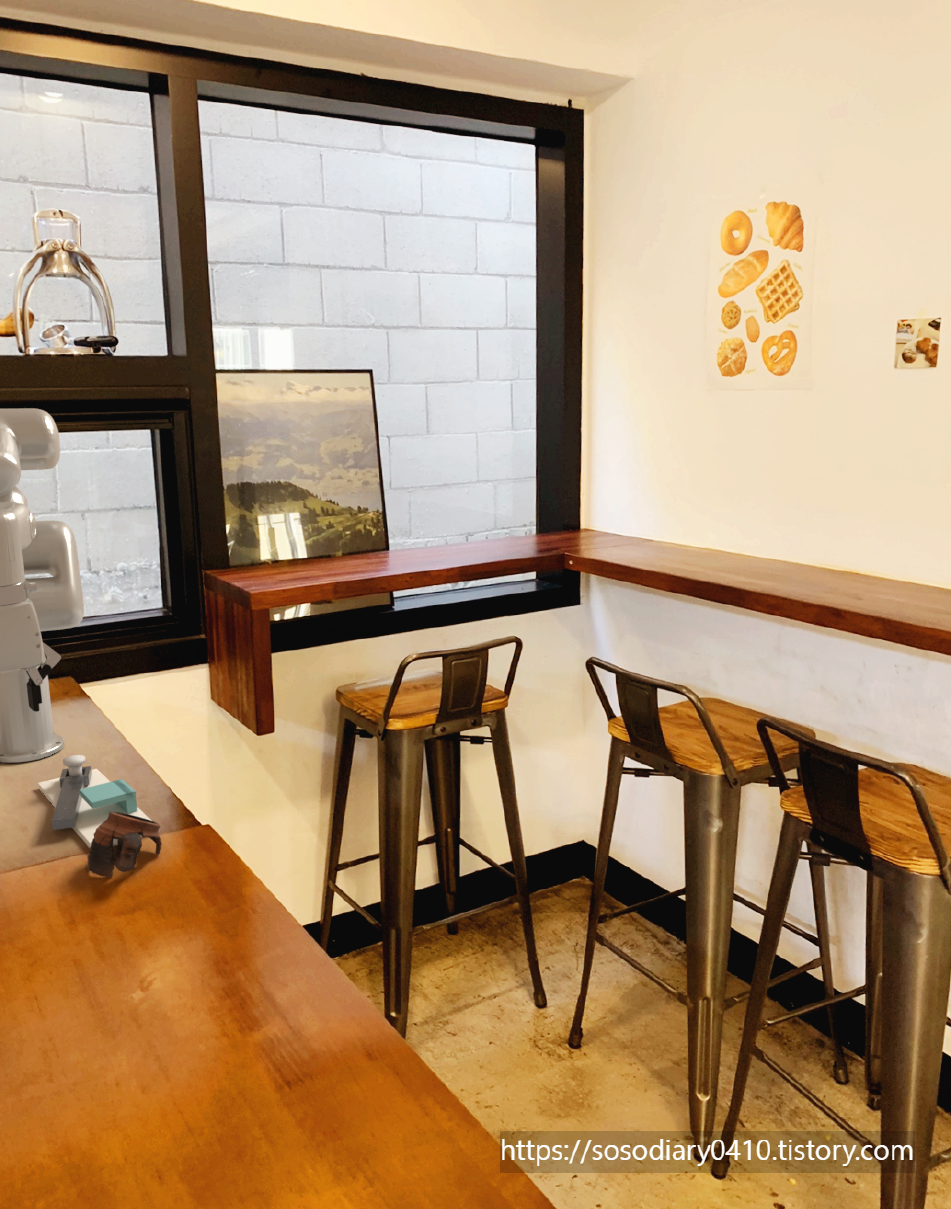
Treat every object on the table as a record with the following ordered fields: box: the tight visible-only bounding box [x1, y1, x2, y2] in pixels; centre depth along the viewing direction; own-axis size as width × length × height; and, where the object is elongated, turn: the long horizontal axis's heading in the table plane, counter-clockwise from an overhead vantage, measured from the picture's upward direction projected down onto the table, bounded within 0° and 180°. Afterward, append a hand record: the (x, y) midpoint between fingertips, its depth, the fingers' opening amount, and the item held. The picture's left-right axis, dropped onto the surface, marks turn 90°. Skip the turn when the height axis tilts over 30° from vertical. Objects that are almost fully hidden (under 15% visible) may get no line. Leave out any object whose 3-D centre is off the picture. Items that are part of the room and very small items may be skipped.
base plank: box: [37, 754, 153, 849], centre depth 148 cm, size 28×10×5 cm, turn 39°
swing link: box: [51, 765, 93, 831], centre depth 149 cm, size 20×4×2 cm, turn 17°
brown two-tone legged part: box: [86, 812, 162, 879], centre depth 131 cm, size 12×10×8 cm
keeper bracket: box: [80, 778, 138, 814], centre depth 146 cm, size 6×6×3 cm
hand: (11, 712), depth 141 cm, fingers open, 5 cm apart
